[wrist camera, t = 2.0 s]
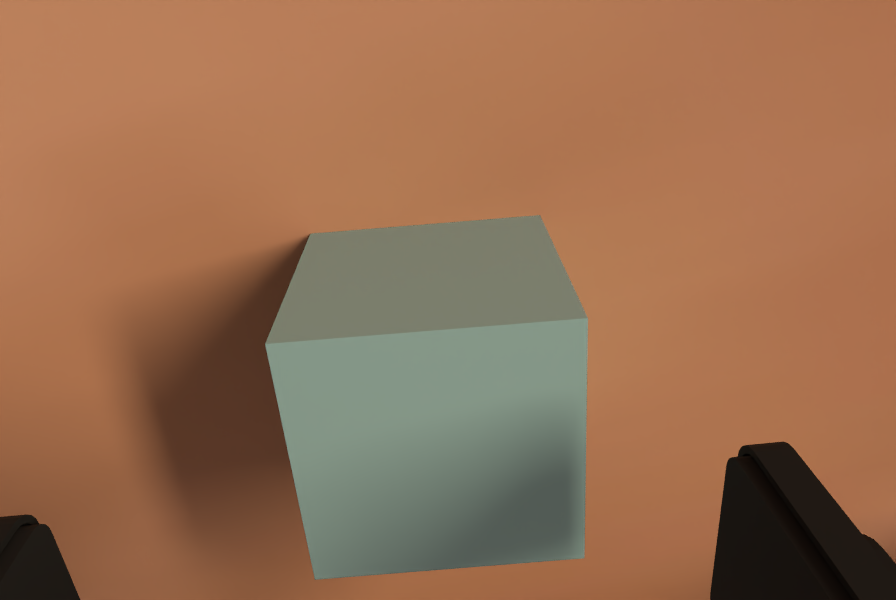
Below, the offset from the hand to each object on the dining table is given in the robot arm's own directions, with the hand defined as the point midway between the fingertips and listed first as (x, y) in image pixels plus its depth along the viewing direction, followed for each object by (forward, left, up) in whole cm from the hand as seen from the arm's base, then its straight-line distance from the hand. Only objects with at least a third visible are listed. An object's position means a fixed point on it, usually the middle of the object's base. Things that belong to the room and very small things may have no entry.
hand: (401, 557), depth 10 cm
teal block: (-1, 0, -7) cm, 7 cm away
